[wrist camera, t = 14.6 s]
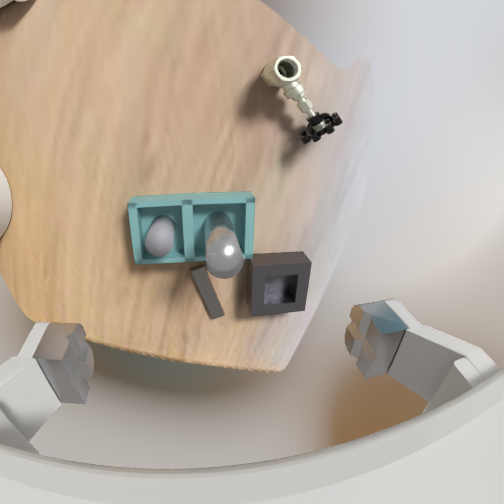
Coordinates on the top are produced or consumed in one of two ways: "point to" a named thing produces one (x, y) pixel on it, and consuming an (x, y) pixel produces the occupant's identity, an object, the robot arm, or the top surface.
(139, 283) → the top surface
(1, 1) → the spread jar
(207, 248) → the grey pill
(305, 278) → the socket block
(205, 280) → the bar
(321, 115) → the valve
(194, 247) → the rack
